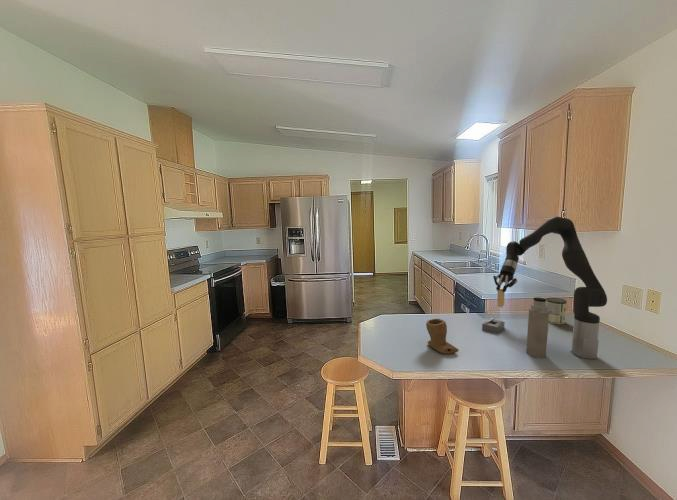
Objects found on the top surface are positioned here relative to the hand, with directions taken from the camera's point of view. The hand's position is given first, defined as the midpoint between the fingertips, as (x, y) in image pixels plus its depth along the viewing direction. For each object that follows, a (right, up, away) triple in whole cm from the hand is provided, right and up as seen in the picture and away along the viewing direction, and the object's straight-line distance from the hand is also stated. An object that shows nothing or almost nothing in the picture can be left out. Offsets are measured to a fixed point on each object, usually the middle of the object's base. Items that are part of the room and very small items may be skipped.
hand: (500, 291), depth 173 cm
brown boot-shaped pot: (-46, -26, -26) cm, 59 cm away
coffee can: (+39, -21, +9) cm, 45 cm away
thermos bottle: (-1, -26, -33) cm, 42 cm away
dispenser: (-6, -23, -3) cm, 24 cm away
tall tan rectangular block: (+2, -9, +3) cm, 10 cm away
